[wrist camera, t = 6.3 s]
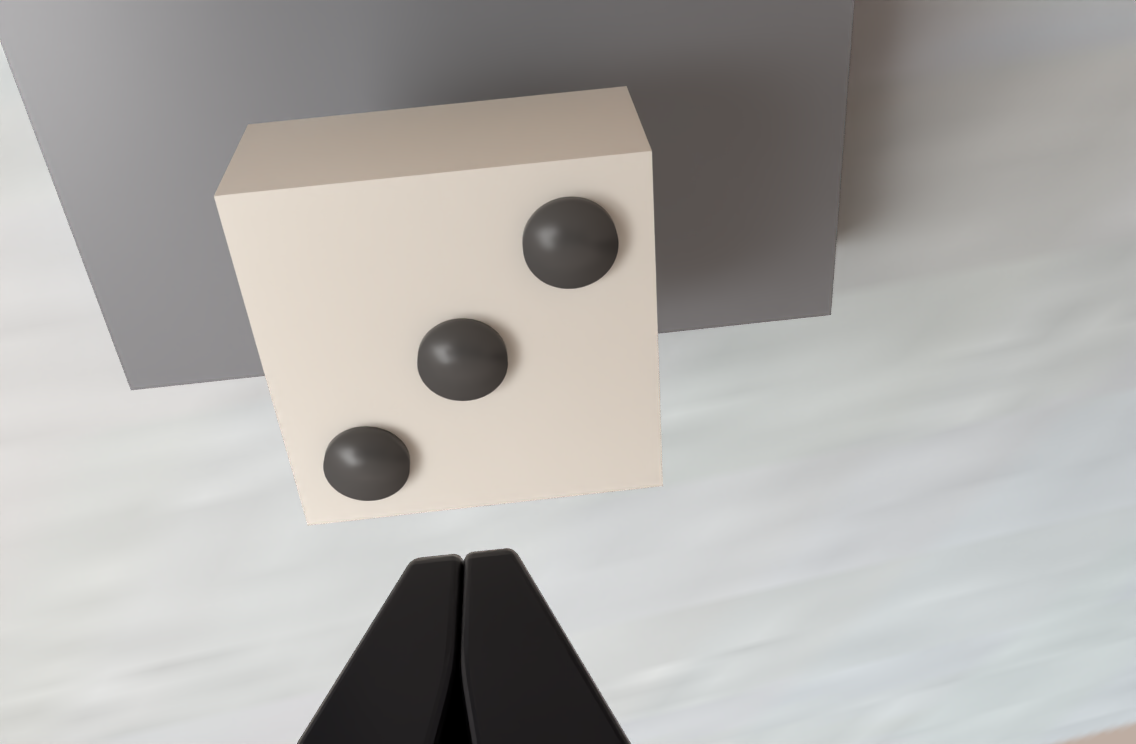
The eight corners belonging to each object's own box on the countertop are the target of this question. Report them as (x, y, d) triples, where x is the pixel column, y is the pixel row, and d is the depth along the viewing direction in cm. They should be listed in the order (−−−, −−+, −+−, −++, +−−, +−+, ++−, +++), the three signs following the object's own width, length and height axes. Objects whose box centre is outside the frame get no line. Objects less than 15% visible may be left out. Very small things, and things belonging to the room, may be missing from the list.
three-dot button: (626, 86, 12) (654, 156, 10) (640, 394, 15) (664, 494, 13) (248, 125, 12) (210, 202, 10) (324, 428, 15) (306, 533, 13)
